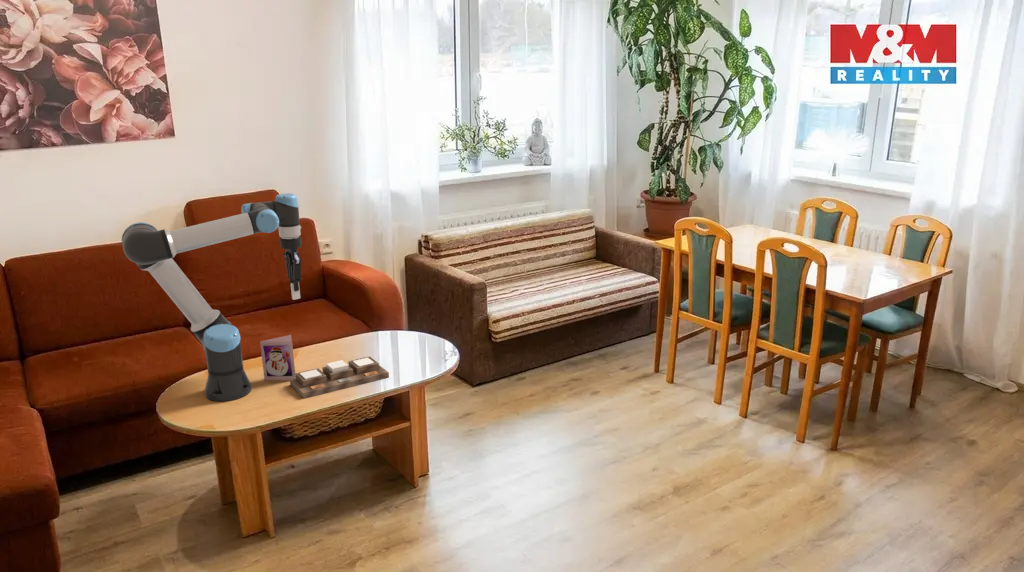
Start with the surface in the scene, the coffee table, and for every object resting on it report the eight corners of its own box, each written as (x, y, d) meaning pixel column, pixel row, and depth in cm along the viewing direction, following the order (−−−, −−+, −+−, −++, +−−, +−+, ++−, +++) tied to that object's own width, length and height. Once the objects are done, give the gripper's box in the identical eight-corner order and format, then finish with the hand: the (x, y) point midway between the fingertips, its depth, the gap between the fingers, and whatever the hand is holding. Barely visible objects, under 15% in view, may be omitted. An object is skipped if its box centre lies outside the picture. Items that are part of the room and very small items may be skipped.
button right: (359, 372, 288) (359, 366, 287) (353, 367, 293) (352, 361, 292) (374, 368, 291) (374, 362, 290) (368, 363, 296) (367, 357, 295)
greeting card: (263, 381, 287) (259, 342, 283) (269, 373, 294) (265, 335, 290) (295, 380, 287) (291, 341, 282) (300, 372, 294) (296, 334, 290)
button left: (305, 385, 277) (305, 378, 277) (300, 379, 282) (299, 373, 281) (322, 381, 280) (321, 374, 280) (316, 375, 285) (315, 369, 285)
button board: (303, 398, 272) (302, 386, 271) (290, 384, 283) (289, 373, 282) (388, 377, 289) (388, 365, 287) (373, 365, 300) (372, 354, 299)
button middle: (332, 375, 282) (332, 368, 281) (326, 369, 287) (326, 363, 286) (348, 371, 285) (348, 365, 285) (342, 366, 290) (342, 360, 289)
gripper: (306, 238, 284) (312, 301, 290) (294, 232, 294) (300, 292, 301) (285, 241, 280) (292, 304, 286) (274, 234, 290) (280, 296, 297)
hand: (296, 298), depth 294 cm, fingers closed
